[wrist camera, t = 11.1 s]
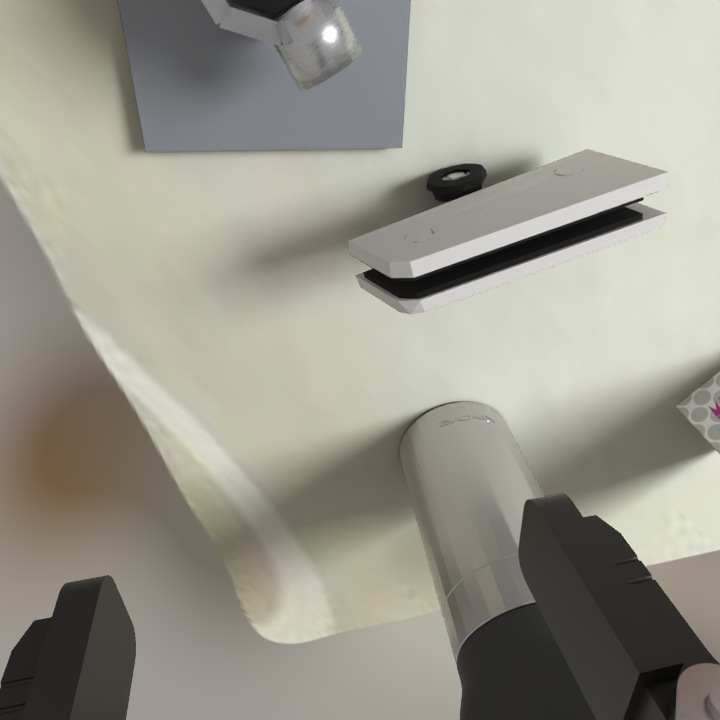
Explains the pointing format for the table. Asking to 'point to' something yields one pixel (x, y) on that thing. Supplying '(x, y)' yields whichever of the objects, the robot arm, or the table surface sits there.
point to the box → (705, 410)
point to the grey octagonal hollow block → (296, 35)
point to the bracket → (506, 228)
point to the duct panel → (261, 82)
